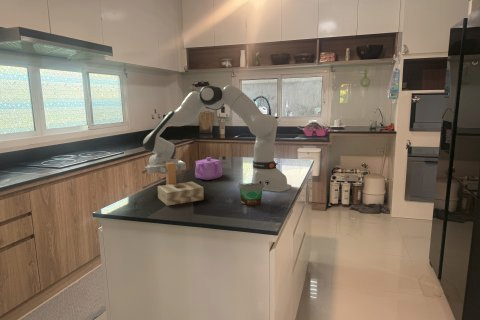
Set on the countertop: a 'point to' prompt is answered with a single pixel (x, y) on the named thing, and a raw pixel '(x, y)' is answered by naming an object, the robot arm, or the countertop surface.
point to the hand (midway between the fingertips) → (171, 170)
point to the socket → (180, 193)
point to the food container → (251, 193)
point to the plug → (170, 173)
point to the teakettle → (208, 169)
